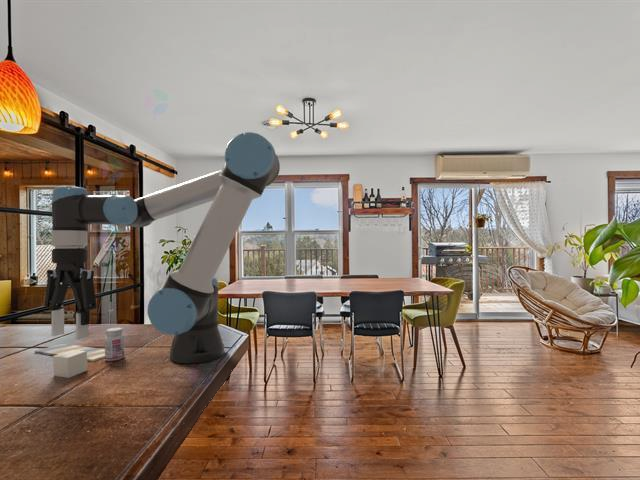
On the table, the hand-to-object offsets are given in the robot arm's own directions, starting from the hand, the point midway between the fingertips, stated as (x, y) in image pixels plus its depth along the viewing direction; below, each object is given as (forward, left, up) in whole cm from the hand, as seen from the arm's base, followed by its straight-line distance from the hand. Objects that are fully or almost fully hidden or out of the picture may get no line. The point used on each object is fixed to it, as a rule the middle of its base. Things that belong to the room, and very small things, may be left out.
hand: (69, 336), depth 91 cm
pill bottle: (-1, -12, -9) cm, 15 cm away
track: (+14, -12, -9) cm, 21 cm away
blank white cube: (-1, 0, -9) cm, 9 cm away
